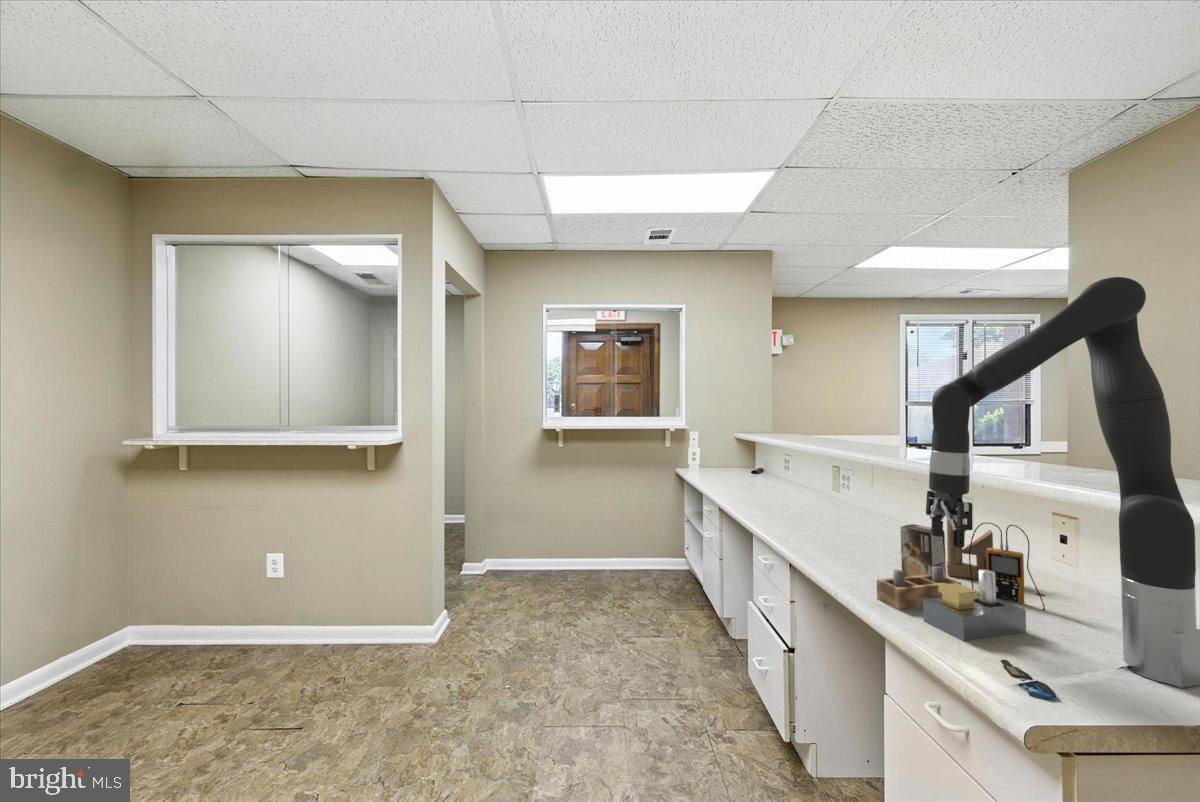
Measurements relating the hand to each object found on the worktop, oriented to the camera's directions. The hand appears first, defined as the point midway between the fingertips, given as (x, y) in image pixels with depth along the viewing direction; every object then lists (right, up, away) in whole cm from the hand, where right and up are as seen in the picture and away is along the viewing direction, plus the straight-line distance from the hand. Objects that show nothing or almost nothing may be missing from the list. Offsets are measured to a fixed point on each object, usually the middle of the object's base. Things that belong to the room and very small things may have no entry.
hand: (946, 541), depth 113 cm
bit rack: (+1, -20, +12) cm, 23 cm away
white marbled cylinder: (+8, -18, -2) cm, 20 cm away
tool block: (+4, -19, -3) cm, 20 cm away
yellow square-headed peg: (0, -16, -3) cm, 16 cm away
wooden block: (+29, -20, +31) cm, 47 cm away
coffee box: (+11, -20, +25) cm, 34 cm away
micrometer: (-2, -20, -22) cm, 30 cm away
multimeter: (+22, -20, +10) cm, 31 cm away
